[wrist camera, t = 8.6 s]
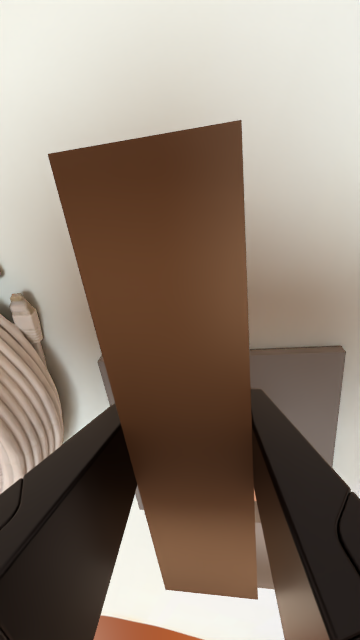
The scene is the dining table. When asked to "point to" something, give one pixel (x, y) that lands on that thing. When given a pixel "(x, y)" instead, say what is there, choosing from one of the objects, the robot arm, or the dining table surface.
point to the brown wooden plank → (175, 340)
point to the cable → (25, 396)
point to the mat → (294, 390)
